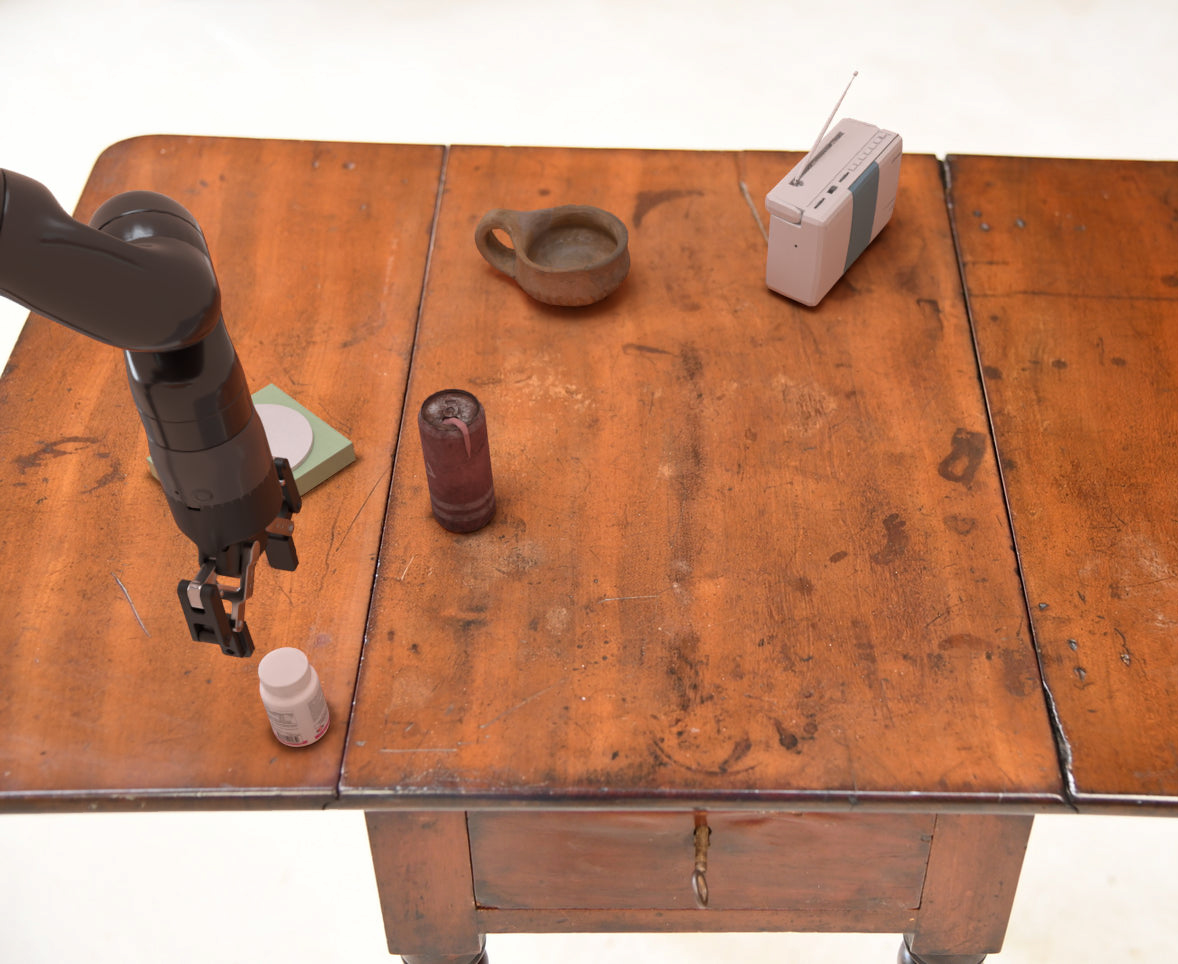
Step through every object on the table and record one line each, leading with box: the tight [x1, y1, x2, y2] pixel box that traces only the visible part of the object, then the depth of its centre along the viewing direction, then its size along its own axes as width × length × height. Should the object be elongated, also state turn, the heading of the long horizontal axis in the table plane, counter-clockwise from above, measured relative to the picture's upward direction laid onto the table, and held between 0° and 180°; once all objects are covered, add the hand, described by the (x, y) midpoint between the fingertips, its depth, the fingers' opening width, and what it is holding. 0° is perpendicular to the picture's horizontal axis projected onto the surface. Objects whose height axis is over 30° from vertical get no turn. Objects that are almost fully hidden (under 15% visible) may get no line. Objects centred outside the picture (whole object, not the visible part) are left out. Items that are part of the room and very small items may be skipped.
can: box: [417, 388, 497, 534], centre depth 132 cm, size 6×6×14 cm
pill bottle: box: [257, 646, 331, 748], centre depth 116 cm, size 5×5×8 cm
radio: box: [764, 70, 904, 307], centre depth 160 cm, size 21×8×20 cm, turn 150°
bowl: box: [474, 203, 631, 307], centre depth 158 cm, size 18×14×10 cm
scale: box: [145, 382, 357, 497], centre depth 139 cm, size 15×13×3 cm
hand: (263, 608), depth 108 cm, fingers open, 8 cm apart
